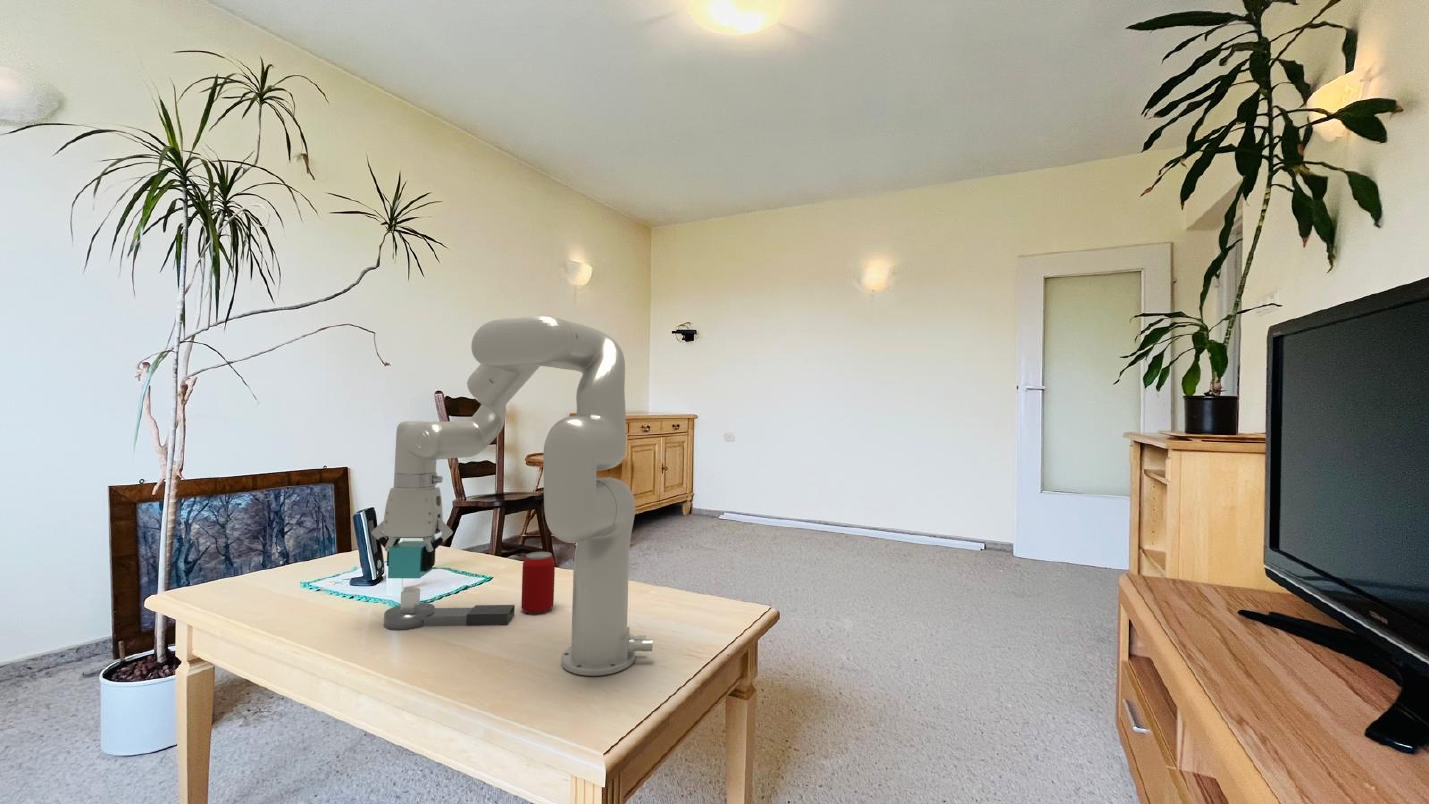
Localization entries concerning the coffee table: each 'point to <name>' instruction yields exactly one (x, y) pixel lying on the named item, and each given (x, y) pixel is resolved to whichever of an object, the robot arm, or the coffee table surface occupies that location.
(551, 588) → the beverage can
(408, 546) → the teal cube
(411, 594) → the ratchet
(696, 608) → the coffee table surface
